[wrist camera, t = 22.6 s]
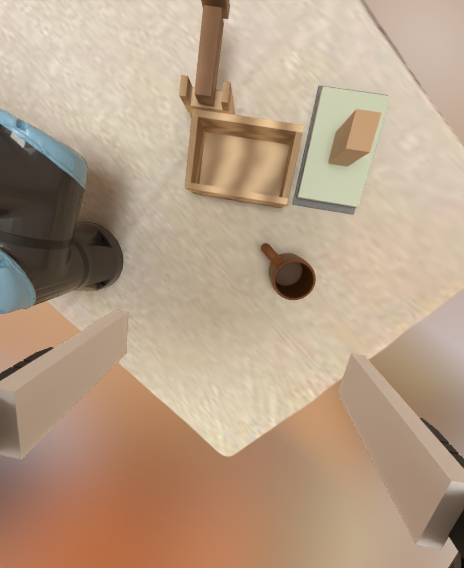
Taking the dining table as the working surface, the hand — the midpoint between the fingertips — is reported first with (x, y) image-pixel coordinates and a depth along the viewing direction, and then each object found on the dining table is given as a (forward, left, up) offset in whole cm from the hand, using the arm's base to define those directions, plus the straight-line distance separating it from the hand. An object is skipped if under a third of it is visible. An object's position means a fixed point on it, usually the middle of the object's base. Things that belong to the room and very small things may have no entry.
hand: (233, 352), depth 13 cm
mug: (+7, +1, -37) cm, 38 cm away
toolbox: (-5, +19, -37) cm, 42 cm away
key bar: (-10, +30, -28) cm, 43 cm away
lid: (+13, +23, -35) cm, 44 cm away
